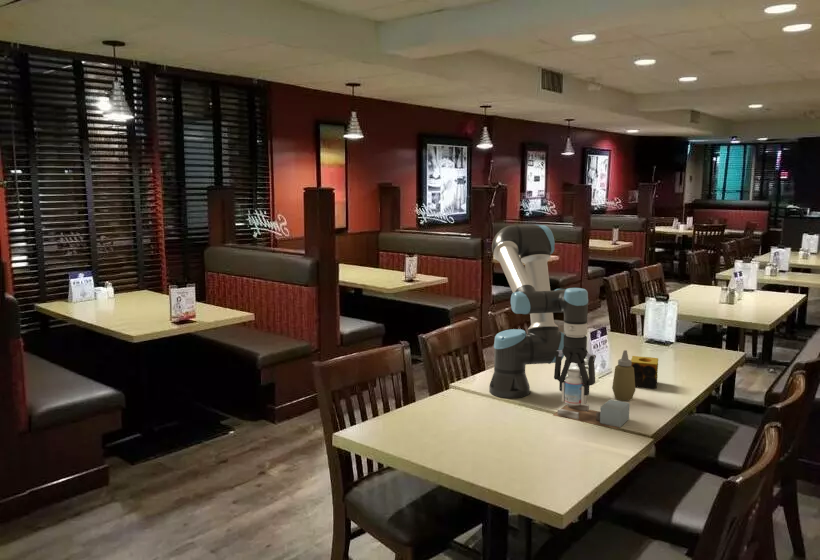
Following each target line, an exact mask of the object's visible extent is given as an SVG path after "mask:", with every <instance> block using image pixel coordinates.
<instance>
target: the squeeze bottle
mask: <svg viewBox="0 0 820 560" xmlns="http://www.w3.org/2000/svg"><path fill="white" fill-rule="evenodd" d="M631 364H632V361H631V359H629V355H628V350H626V349H624V350H623V352H622V356H621V358H619V359H618V360H617V365H616V366H615V367H614V374H613V382H612V387H611V388H612V391H613V396H614V398H615V399H616V400H617V401H622V402H629V401H632V400H633V397H634V396H635V392H636V387H635V376H634V367H632V366H631Z"/></svg>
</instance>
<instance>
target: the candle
mask: <svg viewBox="0 0 820 560" xmlns="http://www.w3.org/2000/svg"><path fill="white" fill-rule="evenodd" d="M630 360H631V361H632V364H631V366H632V367H634V376H635V388H640V389H649V390H657V387H658V369H659V357H650V356H640V355H639V356H638V355H637V356H636V355H632V356H631V359H630Z"/></svg>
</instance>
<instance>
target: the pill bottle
mask: <svg viewBox="0 0 820 560" xmlns="http://www.w3.org/2000/svg"><path fill="white" fill-rule="evenodd" d="M582 385H584V384H583V380H582V377H581V373H580V369H578V368H577V369H576V368H569V370H568V371H567V376H566V378H565V401H564V403H565V405H581V387H582Z"/></svg>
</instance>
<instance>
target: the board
mask: <svg viewBox="0 0 820 560" xmlns="http://www.w3.org/2000/svg"><path fill="white" fill-rule="evenodd" d="M552 416H553V417H559V418H562V419H563V418H564V419H569V420H572V421H577V422H582V423H586V424H592V425H596V426H601V427H605V428H611V429H614V430H615V429H616V430H619V429H620V427H616V426H611V425H606V424H602V423H600V410H599V411H598V410H594V409H593V410H592V409H590V404H587V403H586V404H585V405H568V404H565V405H564V406H563V407H561V408H558V409H557V410H556V412H554V413H553V414H552Z"/></svg>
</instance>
